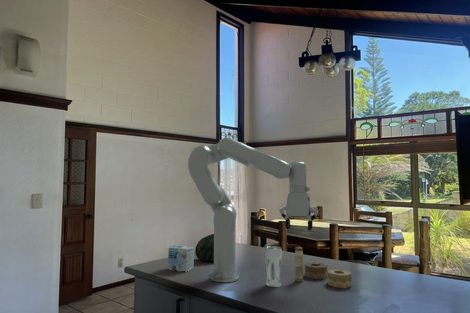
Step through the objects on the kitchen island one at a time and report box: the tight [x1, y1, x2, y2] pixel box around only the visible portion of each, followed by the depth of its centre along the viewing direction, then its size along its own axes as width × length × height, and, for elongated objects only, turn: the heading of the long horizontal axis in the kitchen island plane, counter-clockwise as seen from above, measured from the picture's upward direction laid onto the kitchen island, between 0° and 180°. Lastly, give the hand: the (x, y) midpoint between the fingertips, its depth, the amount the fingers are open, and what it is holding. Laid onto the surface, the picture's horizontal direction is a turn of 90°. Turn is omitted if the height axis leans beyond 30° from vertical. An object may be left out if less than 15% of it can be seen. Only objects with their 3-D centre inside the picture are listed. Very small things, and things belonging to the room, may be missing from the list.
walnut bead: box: [304, 262, 328, 280], centre depth 153 cm, size 9×9×5 cm
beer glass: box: [264, 245, 283, 288], centre depth 140 cm, size 7×7×15 cm
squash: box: [194, 233, 214, 262], centre depth 183 cm, size 14×15×15 cm
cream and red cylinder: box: [294, 246, 304, 283], centre depth 146 cm, size 3×3×14 cm
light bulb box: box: [167, 244, 195, 273], centre depth 164 cm, size 11×7×11 cm, turn 68°
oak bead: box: [327, 268, 352, 289], centre depth 141 cm, size 9×9×5 cm
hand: (298, 229), depth 149 cm, fingers open, 9 cm apart
